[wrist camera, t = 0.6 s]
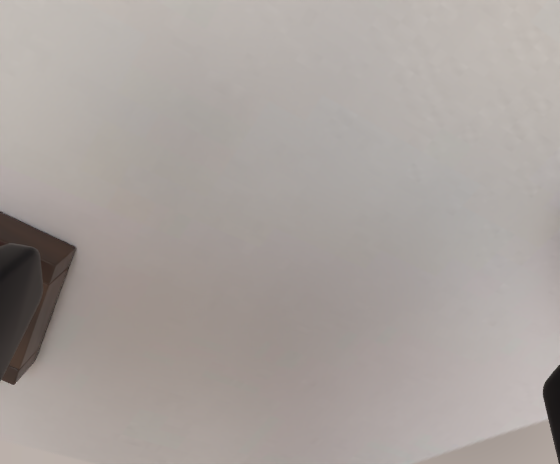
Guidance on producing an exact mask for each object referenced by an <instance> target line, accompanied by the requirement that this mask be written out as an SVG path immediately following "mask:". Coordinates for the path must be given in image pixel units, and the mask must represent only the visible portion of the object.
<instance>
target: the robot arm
mask: <svg viewBox="0 0 560 464" xmlns="http://www.w3.org/2000/svg"><path fill="white" fill-rule="evenodd" d="M42 293H43V280H42V269H41V259H40V253H39V251H38V250H37V249H36V248H34V247H30V246H25V245H20V244H14V243H9V244H6V245H3V246H0V381H1V379H2V377H3V375H4V373H5V371H6V369H7V367H8V365H9V363H10V361H11V359H12V357H13V355H14V353H15V351H16V349H17V347H18V345H19V343H20V341H21V339H22V337H23V335H24V333H25V331H26V329H27V327H28V325H29V323H30V321H31V319H32V317H33V315H34V313H35V311H36V309H37V307H38V305H39V303H40V300H41V297H42ZM543 398H544V402H545V406H546V411H547V415H548V419H549V423H550V427H551V432H552V436H553V440H554V445H555V449H556V453H557V457H558V462H559V464H560V365H559V366H558V367H557V368H556V370H555V371H554V372H553V373H552V374H551V376H550V377H549V378H548V379H547V380H546V382H545V384H544V387H543Z"/></svg>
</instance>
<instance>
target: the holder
mask: <svg viewBox="0 0 560 464" xmlns="http://www.w3.org/2000/svg"><path fill="white" fill-rule="evenodd" d="M9 243H14V244H20V245H25V246H30V247H34V248H36V249H37V250H38V251H39V253H40V259H41V269H42V280H43V293H42V297H41V300H40V303H39V305H38V307H37V309H36V311H35V313H34V315H33V317H32V319H31V321H30V323H29V325H28V327H27V329H26V331H25V333H24V335H23V337H22V339H21V341H20V343H19V345H18V347H17V349H16V351H15V353H14V355H13V357H12V359H11V361H10V363H9V365H8V367H7V369H6V371H5V373H4V375H3V377H2V379H1V380H3V381H5V382H8V383H10V384H12V385H14V384H15V383H16V382H17V381H18V380H19V379H20V378H21V376H22V375H23V374H24V373H25V372H26V371H27V370H28V368H29V367H30V366H31V365H32V364H33V363H34V362H35V359H36V356H37V354H38V351H39V347H40V345H41V343H42V340H43V337H44V334H45V332H46V329H47V326H48V323H49V321H50V318H51V315H52V312H53V310H54V307H55V304H56V301H57V299H58V296H59V293H60V290H61V287H62V285H63V282H64V279H65V276H66V274H67V271H68V268H69V265H70V263H71V260H72V257H73V255H74V252H75V247H74V246H71V245H69V244H67V243H65V242H63V241H61V240H59V239H57V238H54V237H52V236H50V235H48V234H46V233H44V232H42V231H40V230H37V229H35V228H33V227H31V226H29V225H27V224H25V223H23V222H20V221H18V220H16V219H14V218H12V217H10V216H8V215H6V214H3V213H1V212H0V246H3V245H6V244H9Z"/></svg>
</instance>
